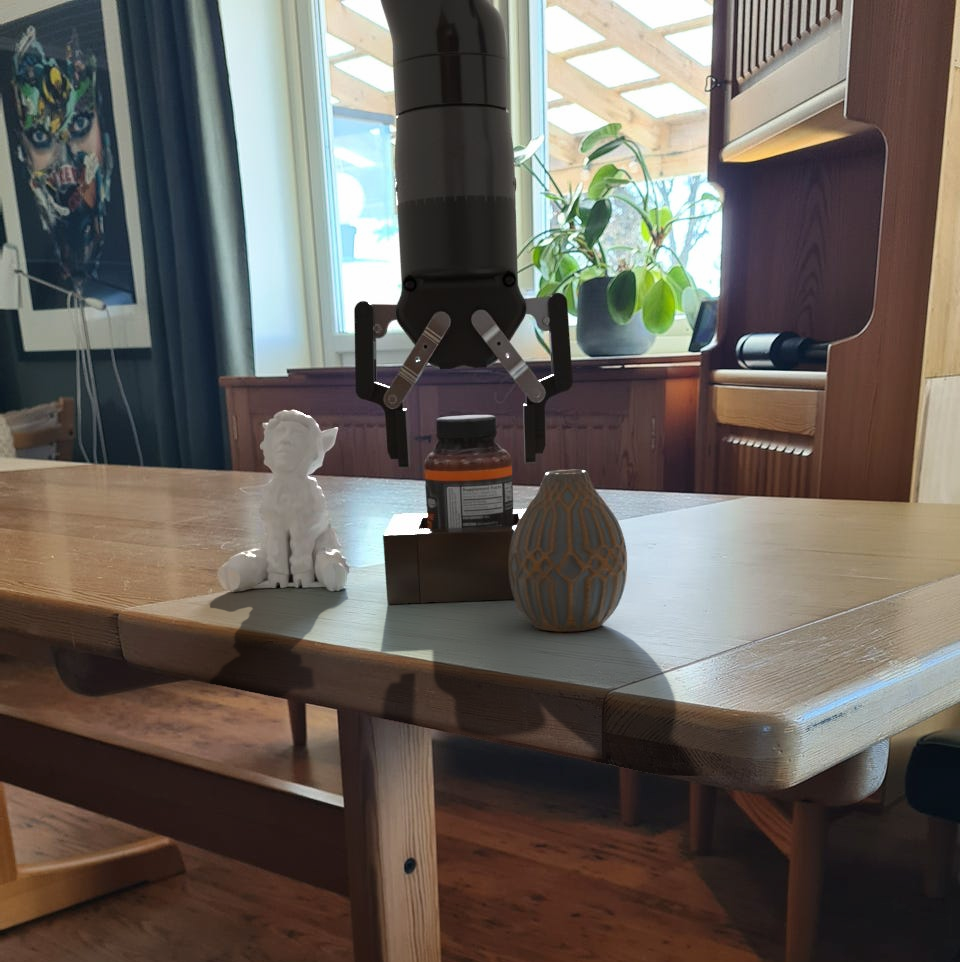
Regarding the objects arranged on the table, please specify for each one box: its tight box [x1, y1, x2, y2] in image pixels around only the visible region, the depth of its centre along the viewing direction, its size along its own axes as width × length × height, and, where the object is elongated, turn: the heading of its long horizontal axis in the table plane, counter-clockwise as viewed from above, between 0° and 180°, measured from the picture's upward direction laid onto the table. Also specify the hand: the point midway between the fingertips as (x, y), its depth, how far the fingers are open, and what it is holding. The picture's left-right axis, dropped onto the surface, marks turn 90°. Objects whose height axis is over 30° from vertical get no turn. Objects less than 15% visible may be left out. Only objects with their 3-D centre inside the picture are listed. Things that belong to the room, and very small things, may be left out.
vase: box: [508, 469, 628, 633], centre depth 74 cm, size 7×7×9 cm
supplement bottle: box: [424, 414, 515, 529], centre depth 88 cm, size 6×6×11 cm
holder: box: [382, 508, 526, 605], centre depth 89 cm, size 11×11×4 cm
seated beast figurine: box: [216, 409, 351, 593], centre depth 92 cm, size 10×9×12 cm
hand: (467, 464), depth 87 cm, fingers open, 8 cm apart
